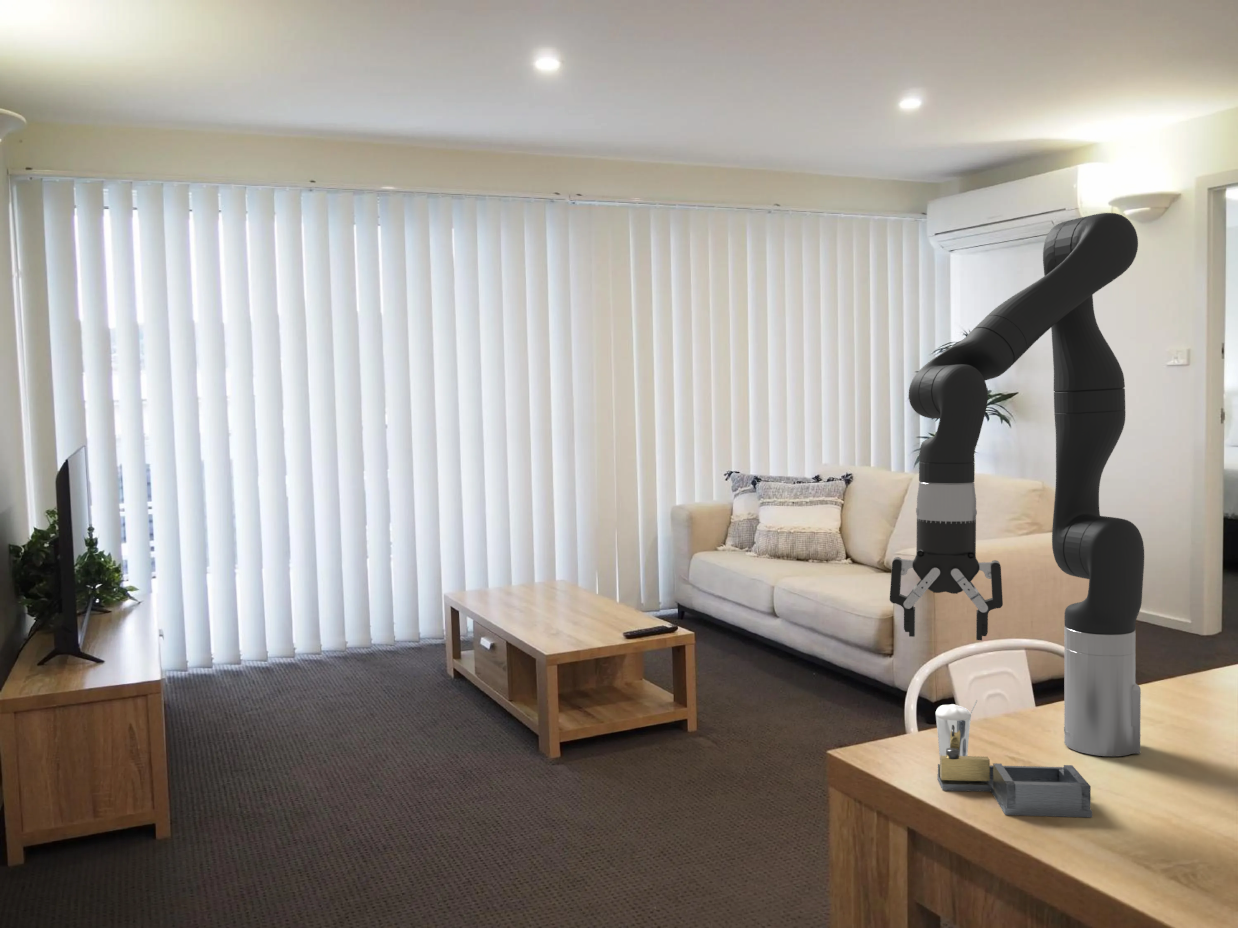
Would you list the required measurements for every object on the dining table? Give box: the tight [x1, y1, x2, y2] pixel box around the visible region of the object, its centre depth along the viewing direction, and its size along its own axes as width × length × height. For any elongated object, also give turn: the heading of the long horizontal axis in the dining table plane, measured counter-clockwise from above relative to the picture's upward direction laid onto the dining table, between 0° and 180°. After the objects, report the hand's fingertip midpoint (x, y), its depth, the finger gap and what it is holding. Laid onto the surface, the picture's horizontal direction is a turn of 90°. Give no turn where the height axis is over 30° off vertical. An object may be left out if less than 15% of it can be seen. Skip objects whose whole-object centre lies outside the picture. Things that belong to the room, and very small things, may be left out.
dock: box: [937, 763, 1093, 818], centre depth 131 cm, size 16×12×4 cm
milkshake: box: [935, 699, 978, 757], centre depth 140 cm, size 4×5×10 cm
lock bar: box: [939, 748, 991, 781], centre depth 135 cm, size 6×2×4 cm, turn 82°
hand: (945, 637), depth 139 cm, fingers open, 8 cm apart
